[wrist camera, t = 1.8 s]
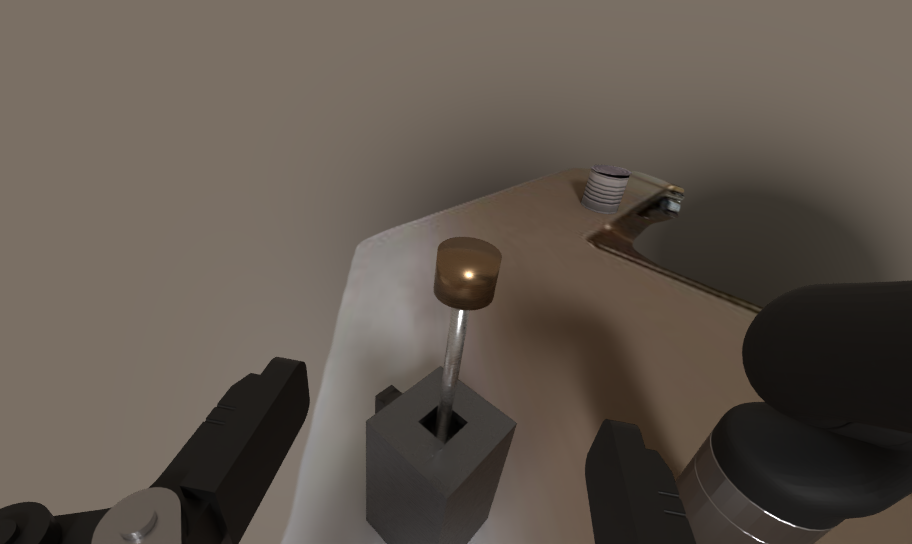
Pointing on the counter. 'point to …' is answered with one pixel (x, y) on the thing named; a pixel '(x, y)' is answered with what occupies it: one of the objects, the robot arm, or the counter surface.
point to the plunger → (460, 313)
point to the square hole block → (432, 465)
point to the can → (605, 188)
